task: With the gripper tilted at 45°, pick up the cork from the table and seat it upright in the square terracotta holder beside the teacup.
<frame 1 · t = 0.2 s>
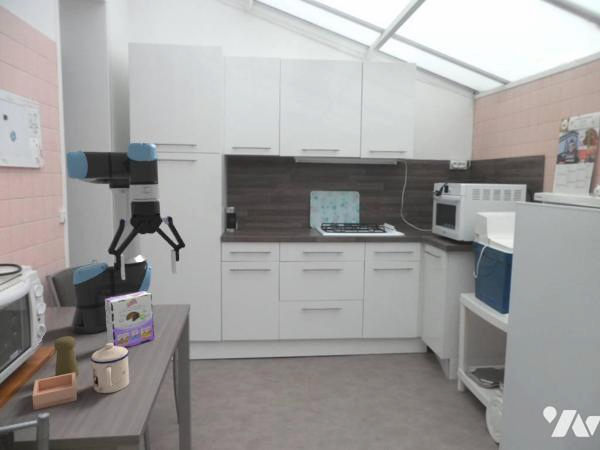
hand: (149, 275, 120), 28 cm above the table, tool pointing down, fingers open, 13 cm apart
candy box: (131, 343, 143), on the table
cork: (67, 376, 120), on the table
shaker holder: (56, 396, 109), on the table
teacup with lid: (111, 388, 113), on the table
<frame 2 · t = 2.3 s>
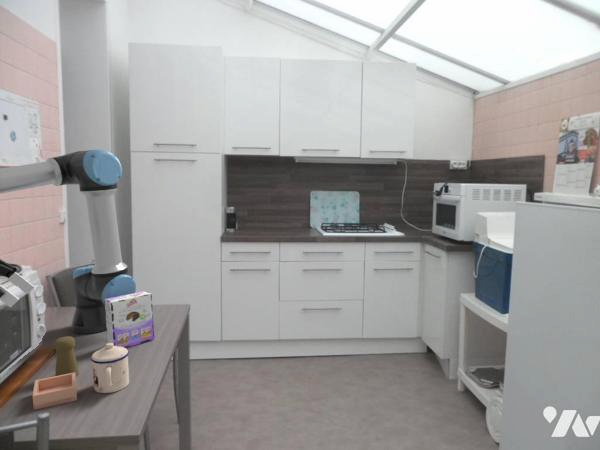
hand: (23, 296, 115), 24 cm above the table, tool tilted 45°, fingers open, 13 cm apart
nothing on the table moved.
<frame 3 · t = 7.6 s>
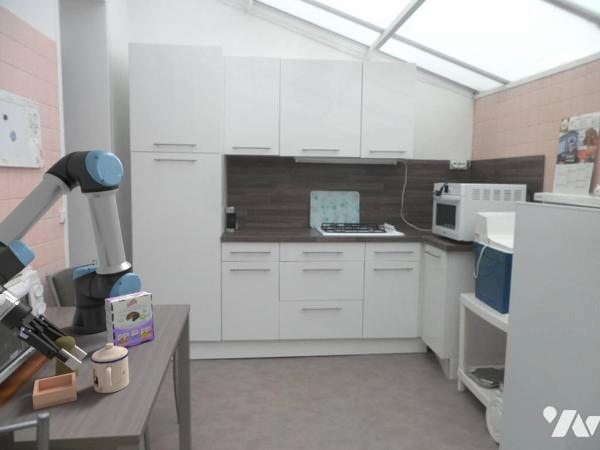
hand: (80, 361, 121), 4 cm above the table, tool tilted 45°, fingers closed on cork, 5 cm apart
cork: (67, 376, 120), on the table, touching gripper
everything else where it was.
when the fingers open (6 cm above the table, at t = 12.0 s): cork drops 1 cm, resting on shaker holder.
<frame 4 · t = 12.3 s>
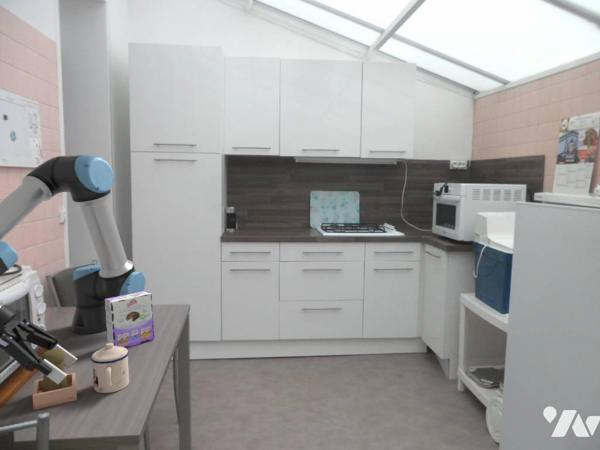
hand: (68, 370, 109), 6 cm above the table, tool tilted 45°, fingers open, 9 cm apart
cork: (55, 393, 109), point 1 cm above the table, touching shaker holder
everything else where it was.
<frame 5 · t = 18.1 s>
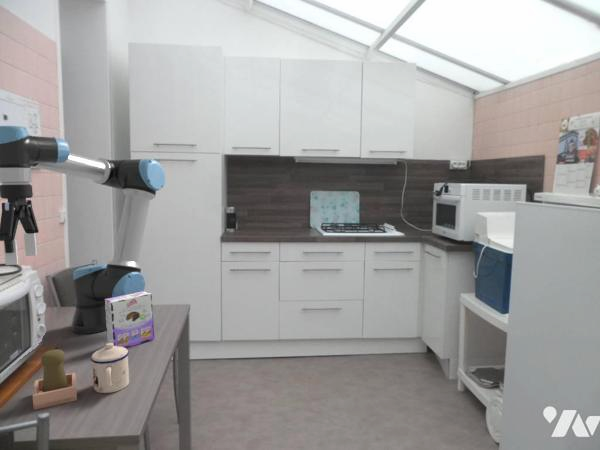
hand: (22, 260, 119), 33 cm above the table, tool pointing down, fingers open, 13 cm apart
nothing on the table moved.
at the end: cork 0.1 cm off-centre on the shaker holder, point 0.8 cm above the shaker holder's base; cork tilted 0°; the gripper is holding nothing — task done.
